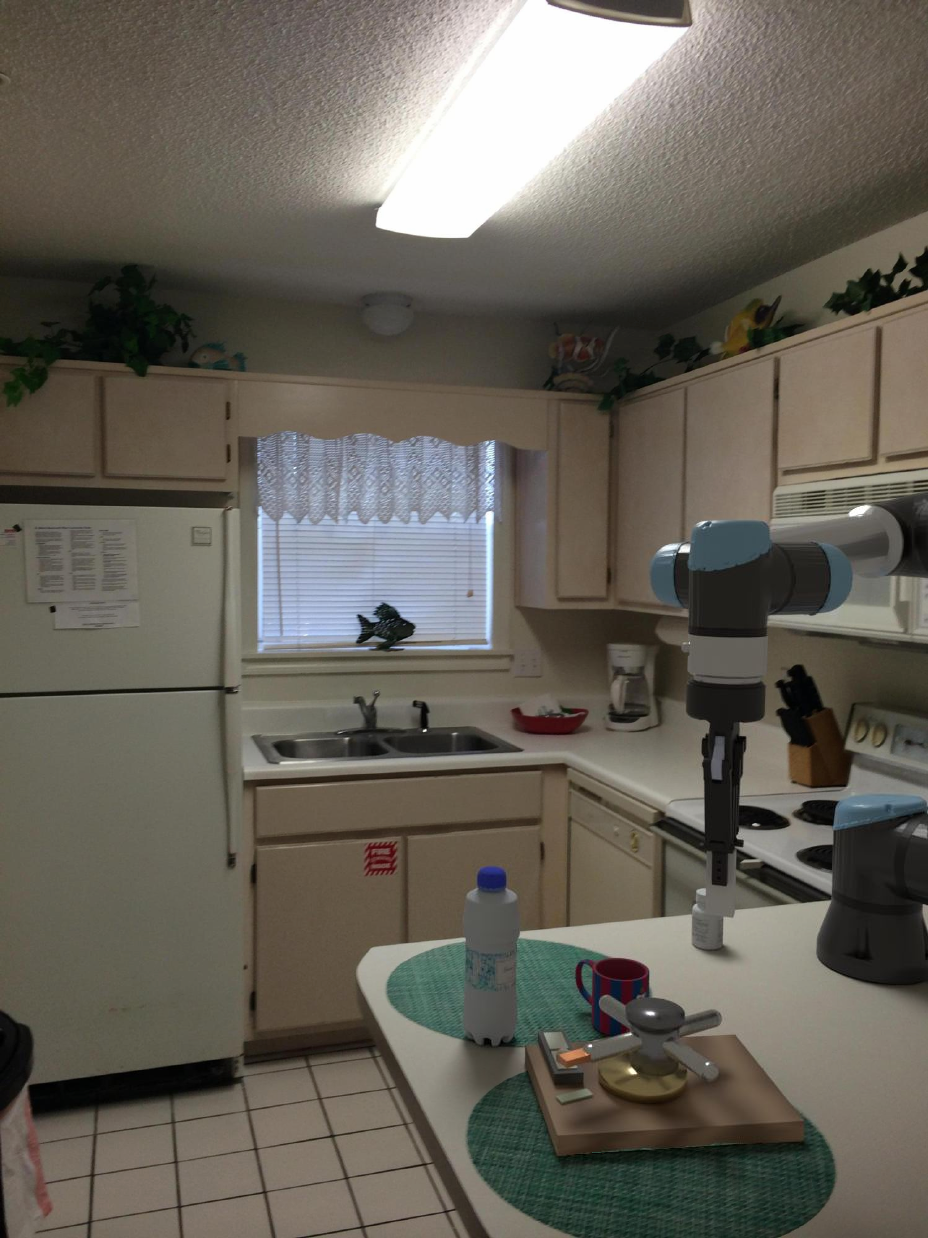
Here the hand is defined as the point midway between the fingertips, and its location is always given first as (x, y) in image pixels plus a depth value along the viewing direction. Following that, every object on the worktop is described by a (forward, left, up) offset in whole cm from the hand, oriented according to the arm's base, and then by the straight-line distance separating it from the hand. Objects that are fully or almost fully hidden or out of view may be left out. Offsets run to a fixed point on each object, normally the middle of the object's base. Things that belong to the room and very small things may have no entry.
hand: (720, 913), depth 98 cm
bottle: (+21, -17, -20) cm, 34 cm away
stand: (+6, -2, -20) cm, 21 cm away
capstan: (+7, -2, -18) cm, 19 cm away
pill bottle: (-14, -41, -20) cm, 48 cm away
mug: (+6, -20, -21) cm, 29 cm away
